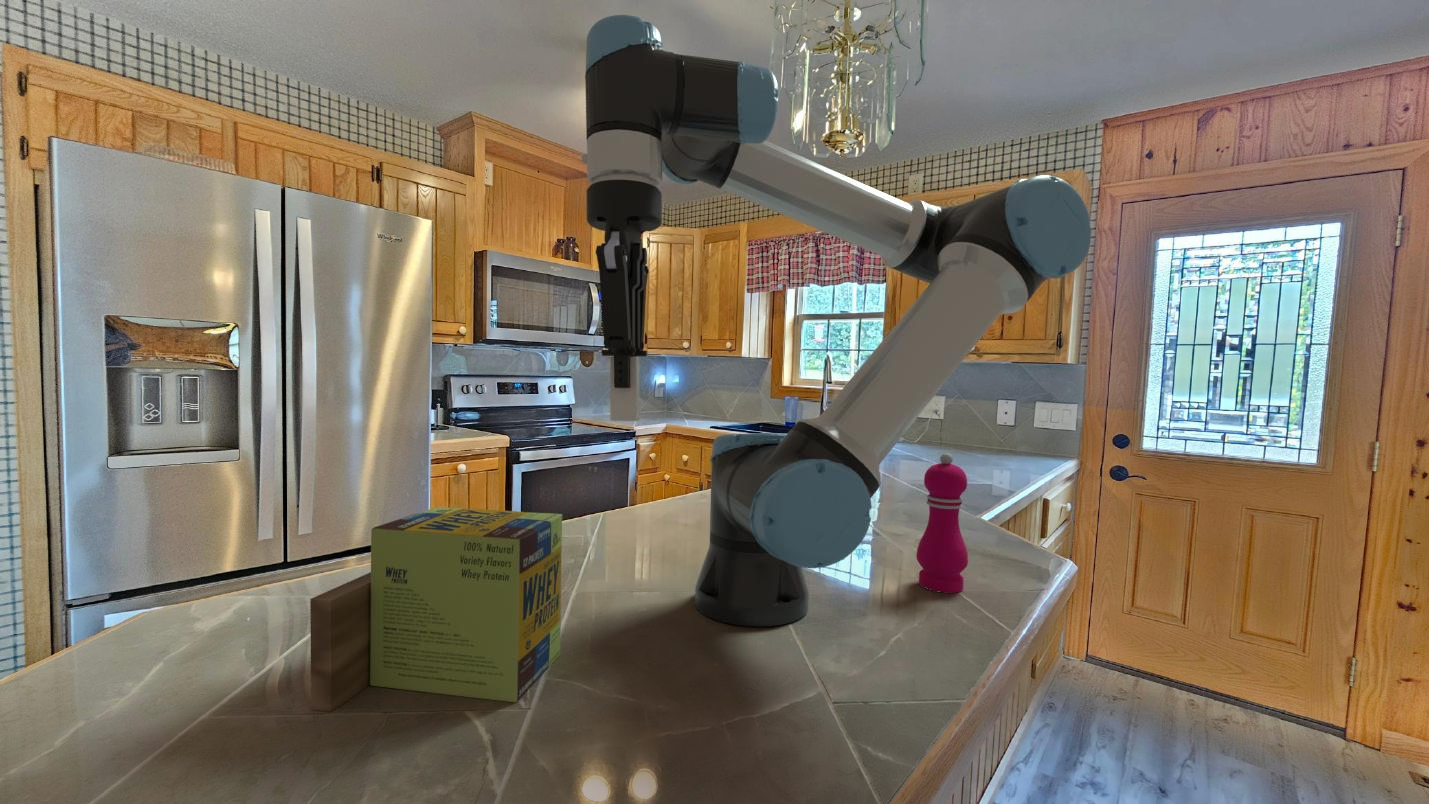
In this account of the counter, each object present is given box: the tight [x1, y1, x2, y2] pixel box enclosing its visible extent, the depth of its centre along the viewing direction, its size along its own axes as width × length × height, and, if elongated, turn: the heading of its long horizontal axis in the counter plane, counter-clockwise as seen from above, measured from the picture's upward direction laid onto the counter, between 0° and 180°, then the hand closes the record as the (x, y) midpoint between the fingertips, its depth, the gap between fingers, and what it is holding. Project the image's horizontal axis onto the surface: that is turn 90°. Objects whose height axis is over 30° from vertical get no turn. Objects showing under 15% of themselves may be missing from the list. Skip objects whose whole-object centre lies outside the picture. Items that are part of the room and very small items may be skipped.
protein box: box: [369, 506, 563, 703], centre depth 63 cm, size 10×15×16 cm
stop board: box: [309, 571, 371, 713], centre depth 65 cm, size 2×20×10 cm, turn 171°
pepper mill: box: [916, 452, 969, 594], centre depth 93 cm, size 7×7×20 cm
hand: (625, 419), depth 64 cm, fingers closed
